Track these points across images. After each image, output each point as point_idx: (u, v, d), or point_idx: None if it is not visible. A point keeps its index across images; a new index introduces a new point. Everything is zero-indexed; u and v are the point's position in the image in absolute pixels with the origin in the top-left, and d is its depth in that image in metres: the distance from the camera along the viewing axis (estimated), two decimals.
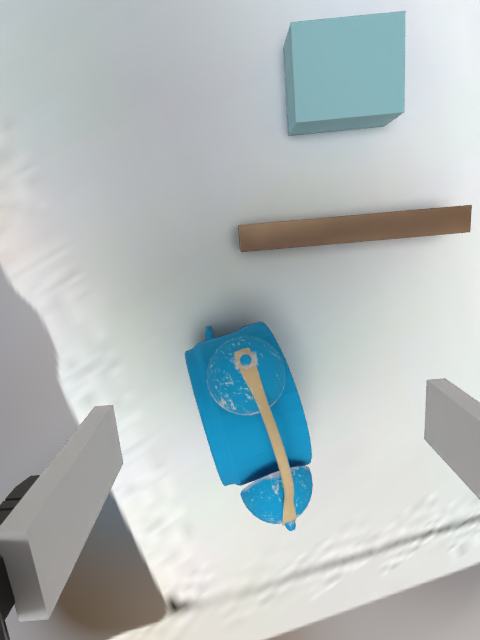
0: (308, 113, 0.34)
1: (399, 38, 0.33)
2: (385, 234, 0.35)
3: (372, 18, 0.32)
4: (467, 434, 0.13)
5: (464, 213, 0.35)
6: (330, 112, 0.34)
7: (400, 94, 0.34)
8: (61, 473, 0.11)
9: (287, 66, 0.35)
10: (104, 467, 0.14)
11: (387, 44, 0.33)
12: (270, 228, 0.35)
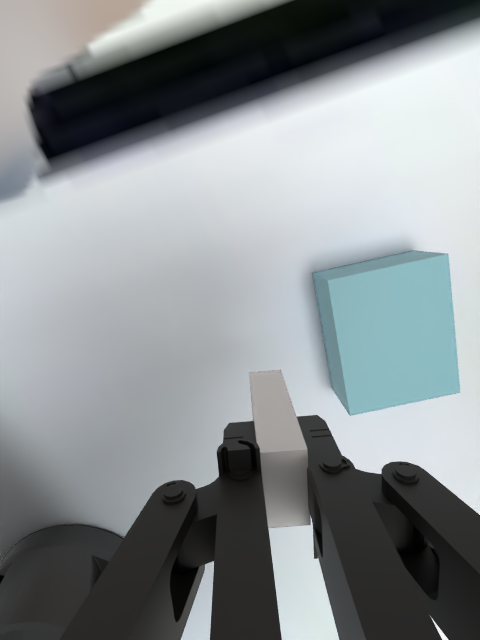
0: (449, 379, 0.26)
1: (359, 280, 0.24)
2: None
3: (339, 320, 0.25)
4: None
5: None
6: (448, 352, 0.26)
7: (426, 264, 0.24)
8: (271, 416, 0.13)
9: None
10: None
11: (367, 294, 0.25)
12: None
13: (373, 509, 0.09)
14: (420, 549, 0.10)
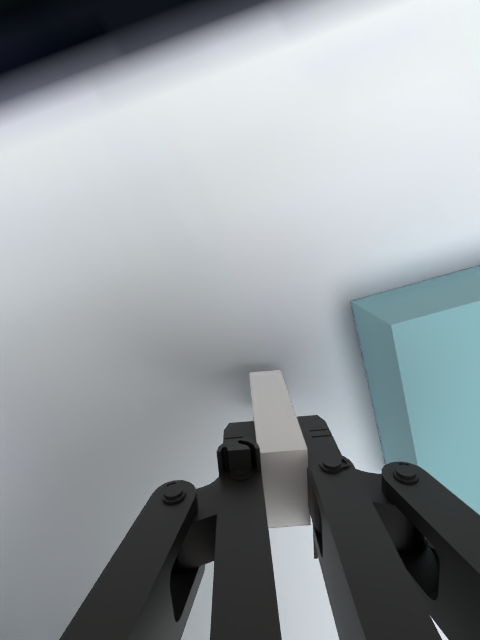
0: None
1: (447, 322, 0.14)
2: None
3: (412, 391, 0.14)
4: None
5: None
6: None
7: None
8: (271, 416, 0.13)
9: None
10: None
11: (461, 345, 0.14)
12: None
13: (373, 509, 0.09)
14: (421, 549, 0.10)
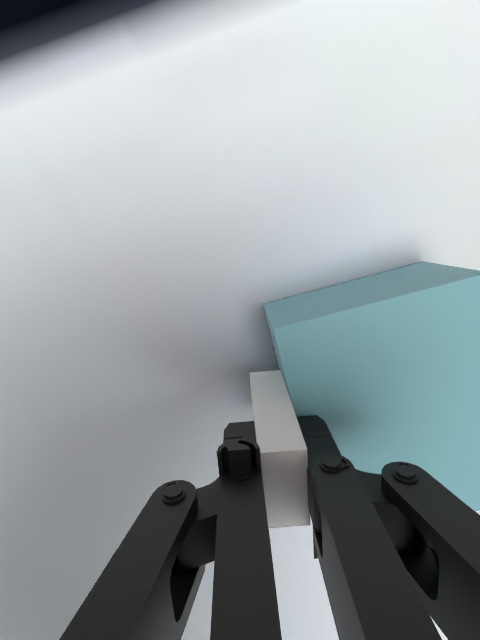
0: None
1: (330, 327, 0.14)
2: None
3: (299, 396, 0.14)
4: None
5: None
6: None
7: (450, 292, 0.13)
8: (271, 416, 0.13)
9: None
10: None
11: (345, 350, 0.14)
12: None
13: (373, 509, 0.09)
14: (420, 548, 0.10)
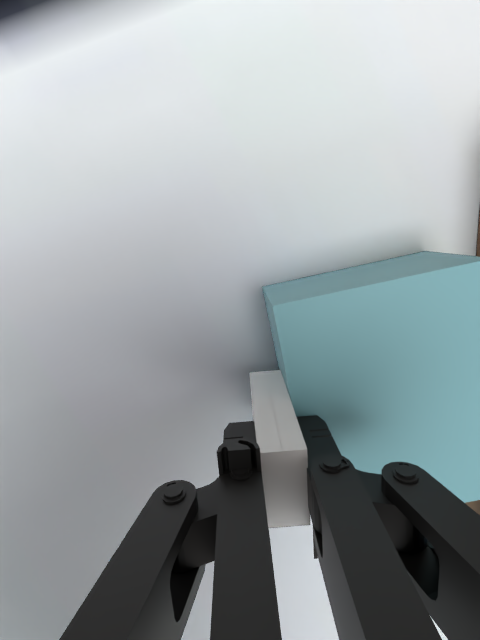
0: None
1: (330, 306, 0.13)
2: None
3: (295, 376, 0.14)
4: None
5: None
6: None
7: (452, 277, 0.13)
8: (271, 416, 0.13)
9: None
10: None
11: (344, 331, 0.14)
12: None
13: (373, 509, 0.09)
14: (420, 548, 0.10)
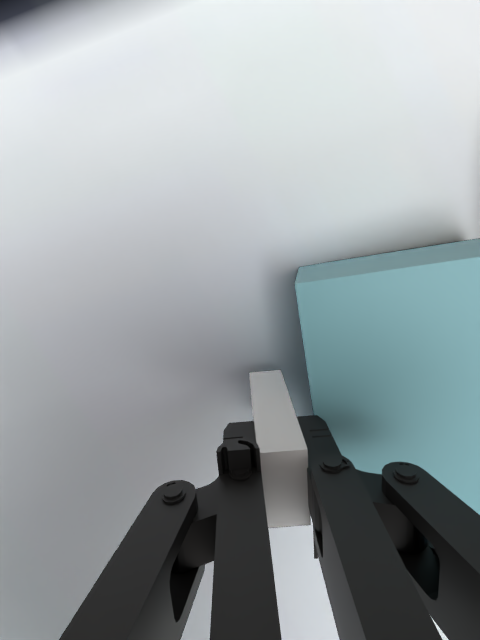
0: None
1: (355, 289, 0.13)
2: None
3: (314, 358, 0.14)
4: None
5: None
6: None
7: None
8: (271, 416, 0.13)
9: None
10: None
11: (370, 316, 0.13)
12: None
13: (373, 509, 0.09)
14: (420, 549, 0.10)
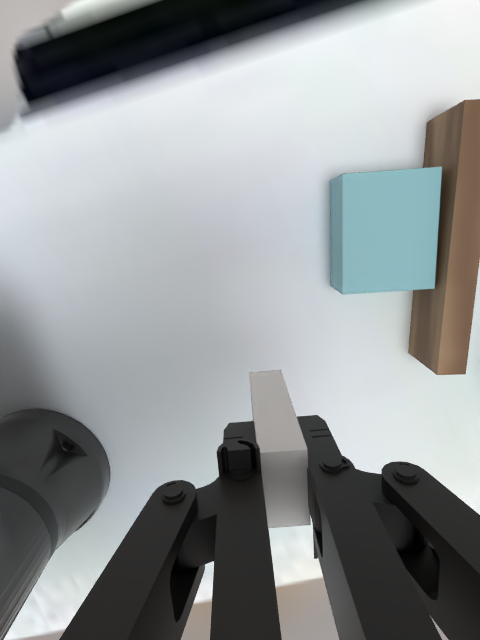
0: (427, 275, 0.32)
1: (367, 178, 0.30)
2: (479, 212, 0.29)
3: (346, 210, 0.31)
4: None
5: (473, 109, 0.28)
6: (429, 252, 0.32)
7: (423, 172, 0.30)
8: (271, 416, 0.13)
9: None
10: None
11: (372, 191, 0.30)
12: (446, 342, 0.32)
13: (373, 509, 0.09)
14: (421, 548, 0.10)
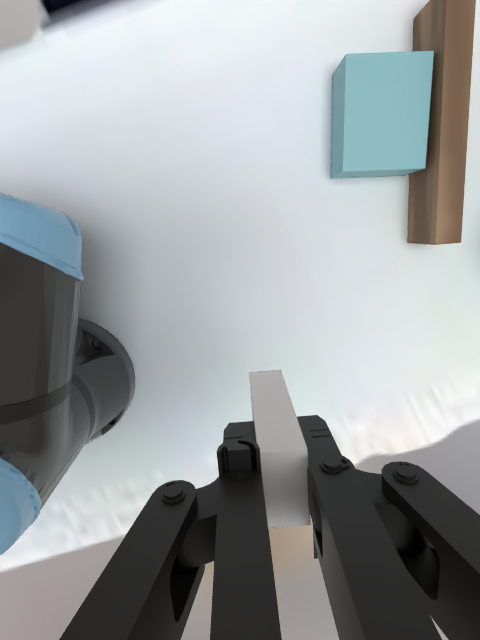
0: (419, 155, 0.35)
1: (368, 59, 0.34)
2: (465, 85, 0.33)
3: (348, 89, 0.34)
4: None
5: None
6: (421, 132, 0.35)
7: (417, 55, 0.34)
8: (271, 416, 0.13)
9: (356, 175, 0.39)
10: None
11: (371, 71, 0.34)
12: (442, 212, 0.36)
13: (373, 509, 0.09)
14: (421, 549, 0.10)
